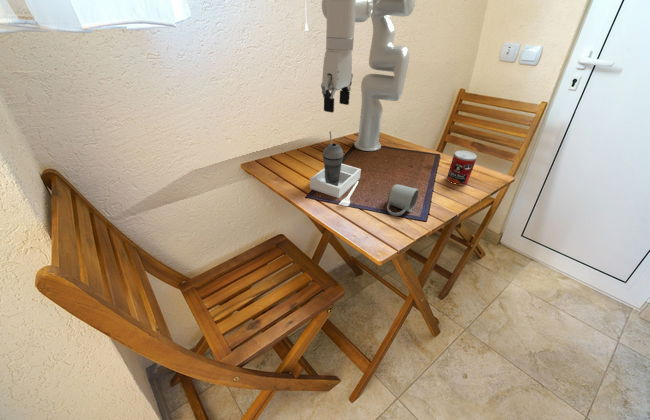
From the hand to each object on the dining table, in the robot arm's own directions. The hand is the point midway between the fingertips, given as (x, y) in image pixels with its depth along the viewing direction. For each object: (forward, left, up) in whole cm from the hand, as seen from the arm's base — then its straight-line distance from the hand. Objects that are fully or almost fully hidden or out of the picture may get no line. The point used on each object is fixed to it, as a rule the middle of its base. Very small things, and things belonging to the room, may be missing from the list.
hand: (336, 107), depth 89 cm
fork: (+2, +8, -29) cm, 30 cm away
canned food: (-30, +39, -29) cm, 57 cm away
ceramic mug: (0, +26, -29) cm, 39 cm away
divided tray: (-2, 0, -28) cm, 28 cm away
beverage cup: (+1, 0, -28) cm, 28 cm away
